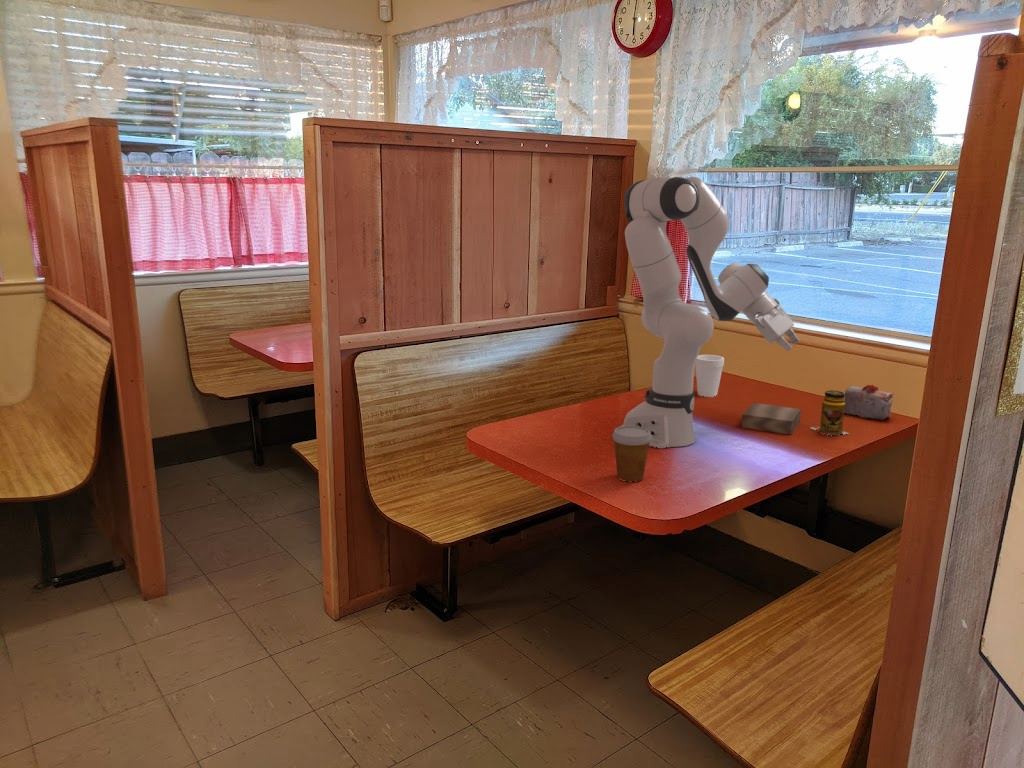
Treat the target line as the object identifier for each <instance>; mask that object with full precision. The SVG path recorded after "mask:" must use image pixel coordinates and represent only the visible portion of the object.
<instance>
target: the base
mask: <svg viewBox="0 0 1024 768" xmlns="http://www.w3.org/2000/svg"><path fill="white" fill-rule="evenodd" d="M801 412H802V409H801V408H793V407H787V406H779V405H772V404H764V403H759V402H758V403H756V402H753V403H752V404H751V405H750V406H749V407H747V409H746V410H745V411H744V412H743V413H742V417H741V419H742V420H741V428H744V429H751V430H756V431H757V430H758V431H764V432H770V433H776V434H785V435H790V436H791V435H792V434H793V433H794V431H795V429H796V428H797V427H798V426H799V424H800V422H801Z"/></svg>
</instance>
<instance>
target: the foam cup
mask: <svg viewBox="0 0 1024 768" xmlns="http://www.w3.org/2000/svg"><path fill="white" fill-rule="evenodd" d="M724 366H725V358H724V357H723V356H721V355H716V354H698V356H697V359H696V363H695V374H696V375H695V376H696V389H697V395H698V396H699V397H703V396H704V397H703V398H714V396H715V397H717V396H716V395H718V392H719V387H720V382H721V377H722V372H723V367H724Z"/></svg>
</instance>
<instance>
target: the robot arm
mask: <svg viewBox="0 0 1024 768" xmlns="http://www.w3.org/2000/svg"><path fill="white" fill-rule="evenodd" d="M623 197H624V198H623V206H624V212H625V217H626V220H627V221H628V222H629V223H628V224H627V225H626V227H625V229H624V238H625V244H626V249H627V253H628V255H629V259H630V262H631V265H632V267H633V270H634V273H635V275H636V278H637V280H638V284H639V286H640V289H641V294H642V299H643V300H642V301H643V308H642V310H641V315H640V320H641V323H642V326H643V327H644V328H645V329H646V330H647V331H648V332H649V333H650V334H652V335H653V336H655V337H657V338H660V339H664V341H663V346H662V350H661V354H660V355H659V357H657V358H656V359H655V360H654V362H653V365H652V367H653V368H652V369H653V370H652V371H653V372H652V384H651V386H649V387H648V388H647V390H646V391H645V392H643V398H644V399H645V401H643V402H641V403H639V404H637V405H636V406H635V407H634V408H632V409H631V410H629V411H628V412H627V414H626V415H625V417H624V420H623V424H622V425H620V426H619V427H621V426H639V427H643V428H646V429H648V430H649V431H650V434H651V436H652V439H651V441H650V443H649V447H652V446H653V447H652V448H656V447H657V449H666V447H667V448H673V447H674V448H675V447H676V448H678V447H685V446H689V445H693V444H694V443H696V442H697V441H696V440H697V439H696V435H695V430H694V422H693V412H694V408H695V391H694V378H695V370H696V364H695V363H696V359H697V356H698V355H700V352H701V348H702V347H703V345H705V344H707V343H708V342H709V340H710V339H711V337H712V336H713V333H714V329H715V323H714V320H713V318H714V319H715V320H717V321H719V322H730V321H733V320H734V319H735V318H736V317H737V316H738V315H740V312H742V313H743V315H744V316H745V317H746V318H747V319H748V320H749V321H750V322H751V324H753V325H755V328H756V329H757V330H758V332H759V333H760V334H761V335H762V336H763V338H764V339H765V340H766V342H768V343H770V344H772V343H774V342H775V343H777V344H778V346H779V347H781V348H783V349H784V350H785V352H789V351H791V349H793V345H794V346H795V345H797V344H798V343H800V339H799V337H798V336H797V335H796V333H795V331H794V330H793V329H792V328H793V327H794V326H795V323H794V321H793V320H792V318H791V317H790V316H789V315H788V313H787V312H786V311H785V310H784V308H783V307H782V306H781V302H780V301H779V300H778V299H777V298H774V297H772V296H771V295H770V294H769V293H768V292H767V291H766V290H767V289H768V287H769V283H770V282H769V281H770V277H769V275H767V274H766V273H765V271H764V270H763V269H762V268H761V267H760V265H759V264H755V263H746V264H744V265H741V264H740V263H738V262H733V263H730V264H728V265H727V266H726V267H724V268H723V270H721V272H720V273H719V275H718V277H717V280H718V284H719V285H718V284H717V281H716V279H715V276H714V274H713V272H712V268H711V263H712V260H713V257H714V255H715V253H716V252H717V249H718V248H719V247H720V245H721V244H722V242H723V241H724V240H725V237H726V235H727V233H728V229H729V223H730V221H729V219H730V218H729V216H728V214H727V211H726V209H725V208H724V206H723V204H722V203H721V202H720V199H718V197H717V195H716V194H715V193H714V191H712V189H711V188H710V187H709V186H708V185H707V183H705V181H703V180H702V179H701V178H699V177H697V176H689V177H688V176H687V177H685V178H684V177H680V176H673V177H654V178H649V179H645V180H644V179H643V180H639V181H636V182H635V183H633V184H631V185H630V186H629V187H628V188H627V189H626V191H625V193H624V196H623ZM670 221H680V222H681V223H682V225H683V227H684V228H685V231H686V233H687V236H688V237H687V238H688V241H687V242H688V244H687V247H686V249H685V252H686V256H687V259H688V261H689V265H690V268H691V270H692V273H693V274H694V276H695V279H696V281H697V284H698V286H699V288H700V290H701V293H702V296H703V299H704V303H705V305H706V309H707V311H706V310H704V309H703V308H701V307H699V306H698V305H696V304H695V305H694V304H691V303H686V302H684V301H683V300H682V298H681V296H680V295H681V294H680V289H679V288H680V287H679V285H680V283H681V282H682V277H683V276H682V271H681V269H680V266H679V263H678V261H677V258H676V254H675V252H674V249H673V246H672V244H671V241H670V240H669V237H668V234H667V223H668V222H670ZM783 335H785V336H786V337H788V339H789V340H790V342H788V341H787V340H786V339H785V337H784V336H783ZM791 343H792V344H793V345H792V344H791Z"/></svg>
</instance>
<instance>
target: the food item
mask: <svg viewBox="0 0 1024 768" xmlns="http://www.w3.org/2000/svg"><path fill="white" fill-rule="evenodd" d="M844 391H845V392H844V394H845V397H844V402H845V411H844V413H846V415H851V414H852V416H856V415H858V416H857V417H860V418H861V417H863V418H862V419H864V418H865V419H874V420H878V419H879V421H880V420H881V421H882V420H885V419H887V418H889V417H890V416H891V414H892V412H891V411H892V406H893V400H894V397H895V393H893V392H888V391H882V390H879V387H877V386H875V385H872V384H871V385H870V384H869V385H868V384H867V385H866V386H864V387H859V386H853V385H852V386H849V387H848V388H846V389H845V390H844Z"/></svg>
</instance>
